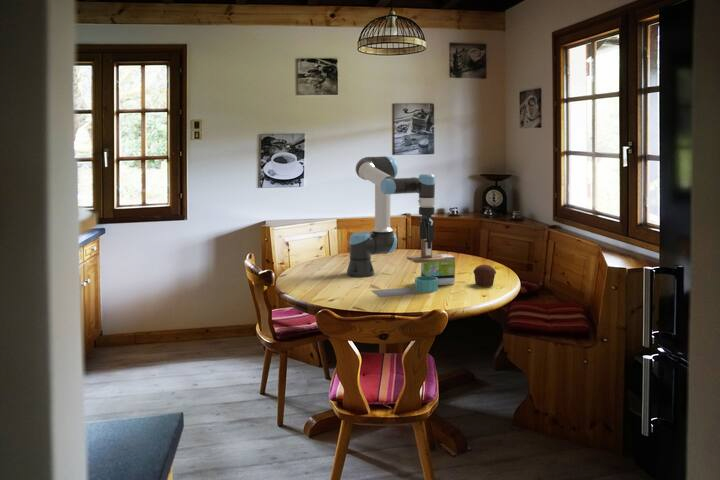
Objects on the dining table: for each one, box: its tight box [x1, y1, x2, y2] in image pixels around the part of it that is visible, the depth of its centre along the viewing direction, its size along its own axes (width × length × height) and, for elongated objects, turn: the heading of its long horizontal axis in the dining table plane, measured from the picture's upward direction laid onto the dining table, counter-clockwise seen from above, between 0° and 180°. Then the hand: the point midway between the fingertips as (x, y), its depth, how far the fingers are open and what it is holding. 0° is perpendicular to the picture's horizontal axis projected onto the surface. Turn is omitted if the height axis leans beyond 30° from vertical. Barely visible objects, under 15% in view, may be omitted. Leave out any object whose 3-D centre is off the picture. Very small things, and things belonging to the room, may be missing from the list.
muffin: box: [472, 264, 497, 287], centre depth 307 cm, size 12×11×10 cm
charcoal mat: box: [371, 287, 420, 298], centre depth 292 cm, size 14×20×1 cm
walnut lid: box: [406, 238, 447, 264], centre depth 294 cm, size 12×16×10 cm
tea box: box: [420, 253, 456, 286], centre depth 310 cm, size 15×10×15 cm, turn 105°
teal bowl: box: [414, 275, 439, 293], centre depth 296 cm, size 11×11×6 cm
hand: (426, 254), depth 294 cm, fingers closed on walnut lid, 4 cm apart
